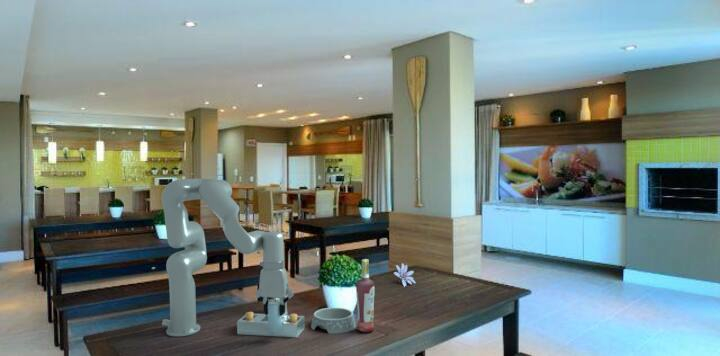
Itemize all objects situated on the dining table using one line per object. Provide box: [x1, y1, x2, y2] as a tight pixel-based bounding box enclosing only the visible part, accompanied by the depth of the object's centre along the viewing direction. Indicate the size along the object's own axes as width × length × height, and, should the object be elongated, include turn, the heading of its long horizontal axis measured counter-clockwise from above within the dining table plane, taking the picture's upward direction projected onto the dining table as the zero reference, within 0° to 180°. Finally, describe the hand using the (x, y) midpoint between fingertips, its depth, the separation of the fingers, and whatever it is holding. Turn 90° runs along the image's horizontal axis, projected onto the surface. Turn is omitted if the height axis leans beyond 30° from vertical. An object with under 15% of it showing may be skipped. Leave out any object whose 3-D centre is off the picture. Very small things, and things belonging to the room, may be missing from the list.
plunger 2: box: [288, 313, 298, 323], centre depth 184 cm, size 3×3×5 cm
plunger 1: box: [245, 311, 254, 321], centre depth 187 cm, size 3×3×5 cm
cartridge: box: [268, 298, 282, 332], centre depth 176 cm, size 5×5×12 cm
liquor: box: [355, 258, 376, 333], centre depth 185 cm, size 7×7×28 cm
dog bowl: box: [310, 307, 357, 335], centre depth 192 cm, size 17×18×5 cm
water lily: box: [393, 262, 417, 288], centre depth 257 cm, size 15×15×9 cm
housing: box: [236, 312, 306, 338], centre depth 186 cm, size 24×10×5 cm, turn 81°
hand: (274, 313), depth 176 cm, fingers closed on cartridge, 5 cm apart
